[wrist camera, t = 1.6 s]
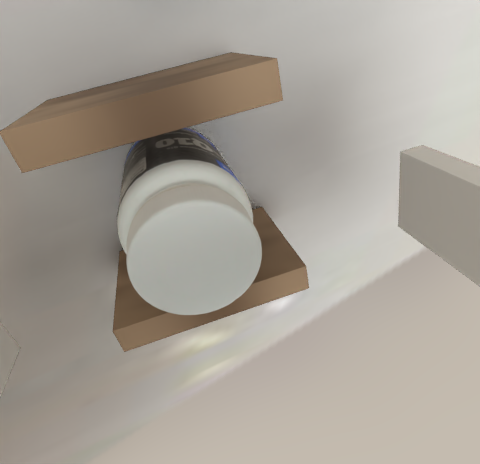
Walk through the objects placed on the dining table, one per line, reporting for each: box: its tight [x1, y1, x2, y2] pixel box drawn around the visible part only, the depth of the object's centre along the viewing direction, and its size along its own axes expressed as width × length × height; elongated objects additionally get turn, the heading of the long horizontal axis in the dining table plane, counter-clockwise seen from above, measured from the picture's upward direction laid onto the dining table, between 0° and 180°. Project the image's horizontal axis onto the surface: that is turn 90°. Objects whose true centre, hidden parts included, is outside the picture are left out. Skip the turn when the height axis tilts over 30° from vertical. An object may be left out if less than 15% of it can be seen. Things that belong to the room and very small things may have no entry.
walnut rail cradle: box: [0, 53, 309, 352], centre depth 15 cm, size 8×9×6 cm
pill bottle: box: [117, 127, 262, 315], centre depth 14 cm, size 5×5×8 cm
